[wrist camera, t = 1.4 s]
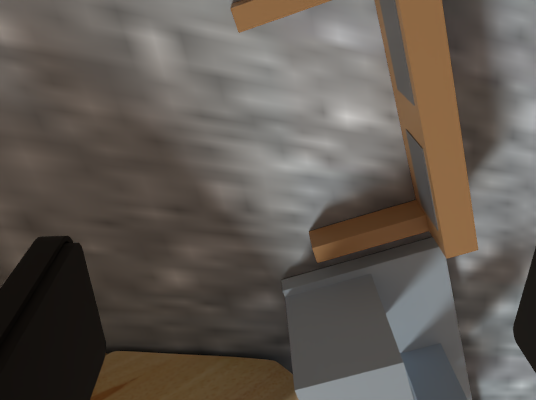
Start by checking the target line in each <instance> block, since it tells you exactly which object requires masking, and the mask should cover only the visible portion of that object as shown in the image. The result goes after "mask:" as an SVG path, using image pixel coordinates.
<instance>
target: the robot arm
mask: <svg viewBox="0 0 536 400" xmlns="http://www.w3.org/2000/svg"><path fill="white" fill-rule="evenodd" d="M513 333H514V338H515V341H516V343H517V345H518V346H519V348H520V349H521V351H522V352H523V354H524V355H525V357H526V359H527V360H528V362H529V363H530V365H531V366H532V368H533V369H534V371H535V373H536V248H535V252H534V255H533V259H532V262H531V266H530V269H529V273H528V276H527V280H526V283H525V287H524V290H523V294H522V297H521V301H520V304H519V308H518V311H517V315H516V319H515V322H514V327H513ZM105 353H106V342H105V337H104V333H103V329H102V325H101V321H100V317H99V313H98V309H97V305H96V301H95V297H94V293H93V289H92V285H91V281H90V277H89V273H88V269H87V265H86V261H85V257H84V253H83V249H82V246H81V245H80V243H73V241H72V239H71V238H70V237H69V236H50V237H38V238H37V239H36V240H35V241H34V242H33V244H32V245H31V247H30V248H29V249H28V251H27V252H26V254H25V255H24V256H23V258H22V259H21V261H20V262H19V263H18V265H17V266H16V268H15V269H14V270H13V272H12V273H11V275H10V276H9V277H8V279H7V280H6V282H5V283H4V284H3V286H2V287H1V289H0V400H90V399H91V396H92V393H93V390H94V387H95V385H96V382H97V379H98V376H99V373H100V370H101V367H102V365H103V362H104V358H105Z"/></svg>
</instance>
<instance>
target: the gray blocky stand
mask: <svg viewBox="0 0 536 400" xmlns="http://www.w3.org/2000/svg"><path fill="white" fill-rule="evenodd" d="M281 281H282V291H283V294H284V296H285V302H286V311H287V321H288V331H289V341H290V350H291V360H292V370H293V380H294V389H295V392H296V395H297V397H298V399H299V400H472V395H471V390H470V385H469V379H468V374H467V369H466V363H465V358H464V352H463V347H462V342H461V336H460V331H459V325H458V320H457V315H456V309H455V304H454V298H453V293H452V288H451V282H450V277H449V272H448V266H447V261H446V257H445V256H444V254H443V253H442V251H441V249H440V248H439V246H438V245H437V243H436V241H435V240H434V238H433V237H431V238H427V239H424V240H420V241H417V242H413V243H410V244H406V245H403V246H399V247H396V248H392V249H389V250H385V251H382V252H378V253H375V254H371V255H368V256H364V257H361V258H357V259H354V260H350V261H347V262H343V263H340V264H336V265H333V266H329V267H326V268H322V269H319V270H315V271H312V272H308V273H305V274H301V275H297V276H294V277H290V278H287V279H283V280H281Z"/></svg>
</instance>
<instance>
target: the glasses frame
mask: <svg viewBox="0 0 536 400" xmlns="http://www.w3.org/2000/svg"><path fill="white" fill-rule="evenodd" d="M328 1H331V0H241V1H238V2H235V3H233V4H232V5H231V11H232V14H233V17H234V20H235V23H236V26H237V29H238V32H239V33H240V32H243V31H245V30H248V29H251V28H254V27H257V26H260V25H263V24H265V23H268V22H271V21H274V20H277V19H280V18H283V17H285V16H288V15H291V14H294V13H297V12H300V11H303V10H305V9H308V8H311V7H314V6H317V5H320V4H322V3H325V2H328ZM375 5H376V9H377V14H378V19H379V24H380V29H381V34H382V38H383V43H384V48H385V53H386V58H387V63H388V67H389V72H390V77H391V82H392V87H393V91H394V96H395V101H396V106H397V111H398V116H399V120H400V125H401V130H402V135H403V140H404V145H405V149H406V154H407V159H408V164H409V169H410V174H411V178H412V183H413V188H414V193H415V198H416V200H413V201H410V202H407V203H403V204H400V205H397V206H393V207H390V208H386V209H383V210H380V211H376V212H373V213H369V214H366V215H363V216H359V217H356V218H353V219H349V220H346V221H342V222H339V223H336V224H332V225H329V226H325V227H322V228H319V229H315V230H312V231H309V235H310V240H311V244H312V249H313V252H314V255H315V258H316V261H317V263H319V262H323V261H326V260H330V259H333V258H337V257H340V256H344V255H347V254H351V253H354V252H358V251H361V250H365V249H368V248H372V247H375V246H379V245H382V244H386V243H389V242H393V241H396V240H399V239H403V238H406V237H410V236H413V235H417V234H420V233H424V232H427V231H429V232H430V233H431V235H432V237H433V238H434V240H435V241H436V243H437V245H438V246H439V248H440V249H441V251H442V253H443V254H444V256H445V257H446V259H447V258H451V257H455V256H458V255H462V254H465V253H469V252H473V251H476V250H478V245H477V238H476V231H475V224H474V217H473V210H472V204H471V197H470V190H469V183H468V176H467V169H466V162H465V156H464V149H463V142H462V135H461V128H460V121H459V114H458V108H457V101H456V94H455V87H454V80H453V73H452V66H451V60H450V53H449V46H448V39H447V32H446V25H445V18H444V12H443V5H442V0H375Z"/></svg>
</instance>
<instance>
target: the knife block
mask: <svg viewBox="0 0 536 400" xmlns="http://www.w3.org/2000/svg"><path fill="white" fill-rule="evenodd" d="M90 400H299V399H298V397H297V395H296V392H295V389H294V380H293V374H292V373H291V372H289V371H288V370H287V369H285V368H284V367H283V366H282V365H280V364H279V363H277V362H276V361H272V360H265V359H254V358H242V357H226V356H207V355H186V354H168V353H150V352H132V351H114V352H111V353H109V354H107V353H105V358H104V362H103V365H102V367H101V370H100V373H99V376H98V379H97V382H96V385H95V387H94V390H93V393H92V396H91V399H90Z"/></svg>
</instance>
